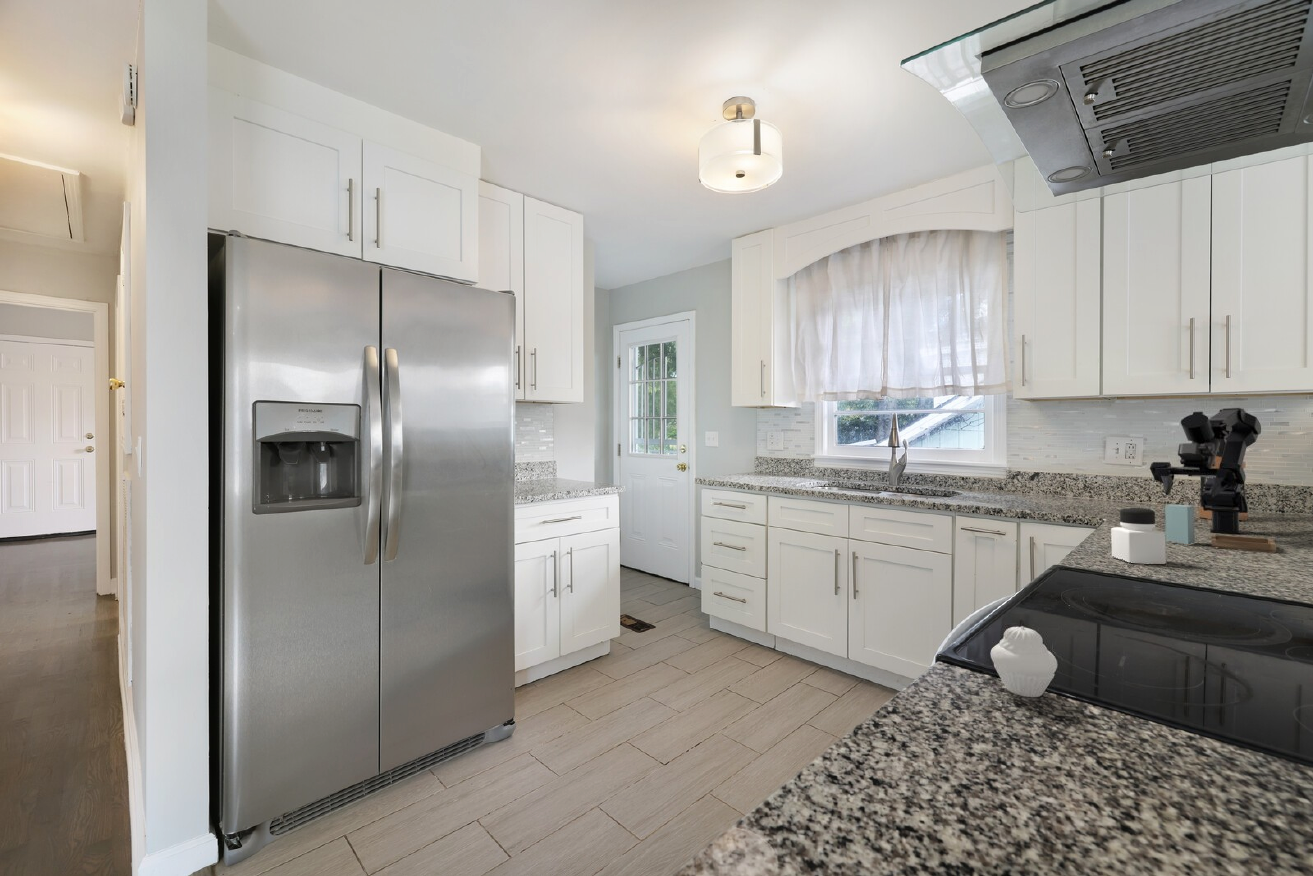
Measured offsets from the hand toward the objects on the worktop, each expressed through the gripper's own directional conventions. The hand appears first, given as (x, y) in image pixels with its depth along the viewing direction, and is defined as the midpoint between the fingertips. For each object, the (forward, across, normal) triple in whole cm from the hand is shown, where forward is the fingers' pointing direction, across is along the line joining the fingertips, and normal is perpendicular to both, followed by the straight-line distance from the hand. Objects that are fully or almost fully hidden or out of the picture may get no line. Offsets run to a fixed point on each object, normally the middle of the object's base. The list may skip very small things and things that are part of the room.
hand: (1188, 495), depth 156 cm
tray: (+10, +11, +8) cm, 16 cm away
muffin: (+106, +26, -87) cm, 140 cm away
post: (+13, 0, +4) cm, 14 cm away
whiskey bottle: (-38, -10, +56) cm, 69 cm away
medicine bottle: (+40, +4, -22) cm, 46 cm away
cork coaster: (-1, +5, +18) cm, 19 cm away
